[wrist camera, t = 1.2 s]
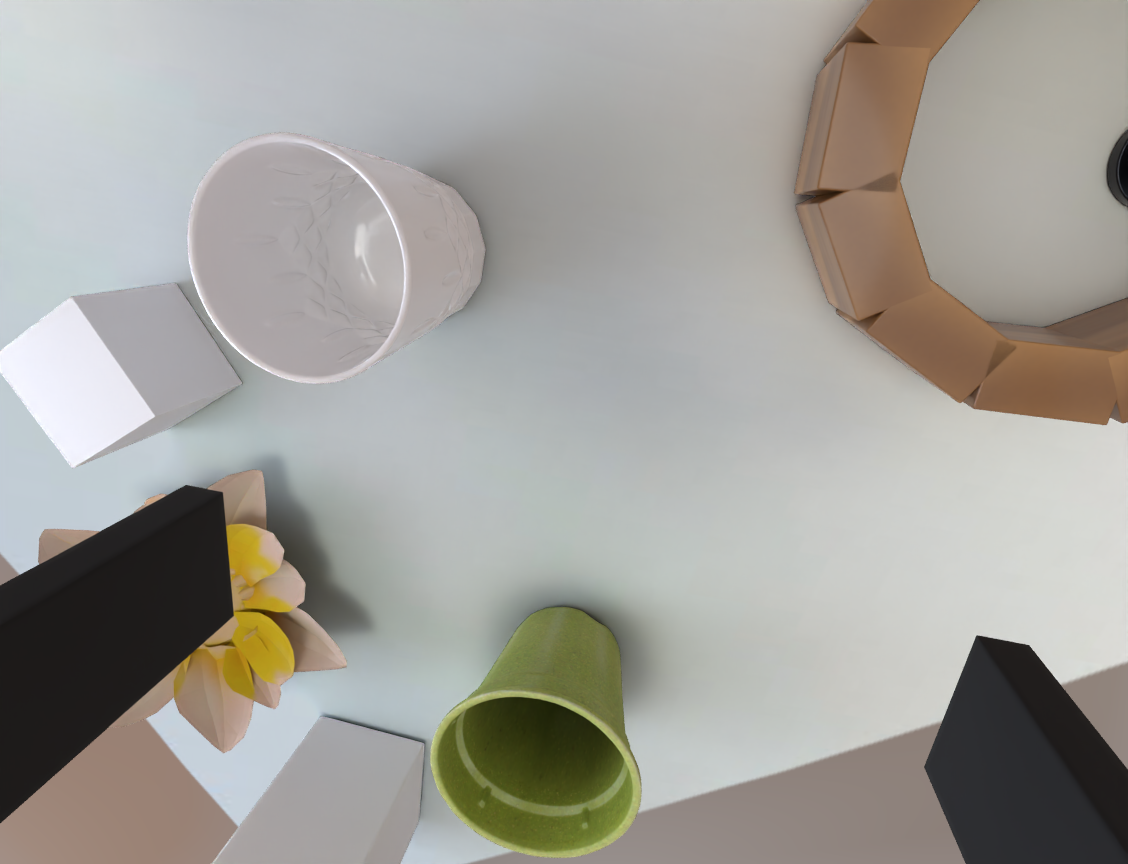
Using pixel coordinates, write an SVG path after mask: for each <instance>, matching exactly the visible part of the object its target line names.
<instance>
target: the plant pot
mask: <svg viewBox="0 0 1128 864" xmlns="http://www.w3.org/2000/svg"><path fill="white" fill-rule="evenodd" d="M430 762H431V769H432V773H433V777H434V779H435V782H436V786H437V788H438V790H439V792H440V794H441V796H442V797H443V799H444V800H445V801H446V803H447V804H448V806H449V807H450V809H451V810H452V812H453V813H454V814H455V815H456V816H457V817H458V818H459V819H460V820H462V821H463V822H464V823H465V824H466V825H467V826H469V827H470V828H471V829H473V830H474V831H475V832H476V833H478V834H479V835H481V836H483V837H484V838H486V839H488V840H490V841H492V842H494V843H495V844H497V845H500V846H502V847H504V848H507V849H510V850H513V851H516V852H520V853H524V854H528V855H532V856H537V857H551V858H569V857H577V856H582V855H586V854H589V853H591V852H594V851H597V850H600V849H602V848H604V847H606V846H608V845H610V844H611V843H613V842H614V841H615V840H617V839H618V838H619V837H620V836H622V835H623V834H624V833H625V832H626V831H627V830H628V828H629V827H630V825H631V824H632V823H633V821H634V819H635V818H636V816H637V813H638V810H639V807H640V802H641V777H640V772H639V768H638V765H637V763H636V760H635V758H634V755H633V753H632V751H631V750H630V745H629V742H628V739H627V736H626V734H625V724H624V712H623V699H622V679H621V658H620V650H619V647H618V644H617V642H616V640H615V638H614V636H613V634H612V633H611V632H610V630H609V629H608V628H607V627H606V626H604V625H602V624H600V623H598V622H597V621H595V620H594V619H592V618H591V617H590V616H588V615H587V614H586V613H585V612H583V611H581V610H578V609H574V608H568V607H551V608H546V609H542V610H539V611H537V612H535V613H533V614H531V615H530V616H529V617H528V618H527V619H526V620H525V621H524V622H523V623H522V624H521V625H520V626H519V627H518V628H517V630H516V631H515V633H514V634H513V636H512V637H511V639H510V640H509V642H508V644H507V645H506V647H505V648H504V650H503V651H502V653H501V655H500V656H499V658H498V659H497V661H496V662H495V664H494V665H493V667H492V669H491V670H490V672H489V673H488V675H487V676H486V678H485V679H484V681H483V682H482V684H481V685H480V687H479V688H478V689H477V690H475V691H474V692H473V693H472V694H471V695H470V696H469V697H468V698H467V699H465V700H464V701H462V702H460V703H459V704H458V705H457V706H455V707H454V708H453V709H452V710H451V711H450V712H449V713H448V714H447V715H446V716H445V718H444V719H443V720H442V722H441V723H440V725H439V727H438V728H437V730H436V732H435V735H434V738H433V741H432V745H431V753H430Z"/></svg>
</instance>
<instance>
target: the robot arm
mask: <svg viewBox="0 0 1128 864" xmlns="http://www.w3.org/2000/svg"><path fill="white" fill-rule="evenodd" d="M233 616H234V610H233V598H232V587H231V576H230V565H229V554H228V542H227V531H226V520H225V509H224V498H223V492H220V491H214V490H209V489H204V488H199V487H193V486H188V485H185V486H183V487H182V488H180V489H178V490H176V491H174V492H172V493H171V494H169V495H167V496H165V497H163V498H161V499H159V500H158V501H156V502H154V503H152V504H150V505H148V506H146V507H145V508H143V509H141V510H139V511H137V512H135V513H134V514H132V515H130V516H128V517H126V518H124V519H122V520H121V521H119V522H117V523H115V524H113V525H111V526H110V527H108V528H106V529H104V530H102V531H100V532H98V533H97V534H95V535H93V536H91V537H89V538H87V539H85V540H84V541H82V542H80V543H78V544H76V545H74V546H73V547H71V548H69V549H67V550H65V551H63V552H61V553H60V554H58V555H56V556H54V557H52V558H50V559H48V560H47V561H45V562H43V563H41V564H39V565H37V566H36V567H34V568H32V569H30V570H28V571H26V572H24V573H23V574H21V575H19V576H17V577H15V578H13V579H11V580H10V581H8V582H6V583H4V584H2V585H0V823H1V822H2V821H3V820H5V819H6V818H7V817H8V816H9V815H10V814H11V813H12V812H14V811H15V810H16V809H17V808H18V807H19V806H20V805H22V804H23V803H24V802H25V801H26V800H27V799H28V798H29V797H30V796H32V795H33V794H34V793H35V792H36V791H37V790H38V789H40V788H41V787H42V786H43V785H44V784H45V783H46V782H47V781H48V780H50V779H51V778H52V777H53V776H54V775H55V774H56V773H58V772H59V771H60V770H61V769H62V768H63V767H64V766H65V765H67V764H68V763H69V762H70V761H71V760H72V759H73V758H74V757H75V756H77V755H78V754H79V753H80V752H81V751H82V750H84V749H85V748H86V747H87V746H88V745H89V744H90V743H91V742H92V741H94V740H95V739H96V738H97V737H98V736H99V735H100V734H102V733H103V732H104V731H105V730H106V729H107V728H108V727H109V726H111V725H112V724H113V723H114V722H115V721H116V720H117V719H118V718H120V717H121V716H122V715H123V714H124V713H125V712H126V711H127V710H129V709H130V708H131V707H132V706H133V705H134V704H135V703H137V702H138V701H139V700H140V699H141V698H142V697H143V696H144V695H146V694H147V693H148V692H149V691H150V690H151V689H152V688H153V687H155V686H156V685H157V684H158V683H159V682H160V681H161V680H162V679H164V678H165V677H166V676H167V675H168V674H169V673H170V672H171V671H173V670H174V669H175V668H176V667H177V666H178V665H179V664H180V663H182V662H183V661H184V660H185V659H186V658H187V657H188V656H189V655H191V654H192V653H193V652H194V651H195V650H196V649H197V648H199V647H200V646H201V645H202V644H203V643H204V642H205V641H206V640H208V639H209V638H210V637H211V636H212V635H213V634H214V633H215V632H217V631H218V630H219V629H220V628H221V627H222V626H223V625H224V624H226V623H227V622H228V621H229V620H230V619H231V618H232V617H233ZM924 768H925V770H926V772H927V775H928V777H929V779H930V782H931V784H932V786H933V788H934V791H935V793H936V795H937V798H938V800H939V802H940V805H941V807H942V809H943V812H944V814H945V816H946V819H947V821H948V823H949V826H950V828H951V830H952V833H953V835H954V837H955V840H956V842H957V844H958V846H959V849H960V851H961V854H962V856H963V858H964V861H965V863H966V864H1128V769H1127V768H1126V767H1125V766H1124V764H1123V763H1122V762H1121V760H1120V759H1119V758H1118V757H1117V755H1116V754H1115V753H1114V752H1113V751H1112V749H1111V748H1110V747H1109V745H1108V744H1107V743H1106V742H1105V740H1104V739H1103V738H1102V737H1101V735H1100V734H1099V733H1098V731H1097V730H1096V729H1095V728H1094V727H1093V725H1092V724H1091V723H1090V721H1089V720H1088V719H1087V718H1086V716H1085V715H1084V714H1083V713H1082V711H1081V710H1080V709H1079V708H1078V706H1077V705H1076V704H1075V703H1074V701H1073V700H1072V699H1071V698H1070V696H1069V695H1068V694H1067V693H1066V691H1065V690H1064V689H1063V688H1062V686H1061V685H1060V684H1059V682H1058V681H1057V680H1056V679H1055V677H1054V676H1053V675H1052V674H1051V672H1050V671H1049V670H1048V669H1047V667H1046V666H1045V665H1044V663H1043V662H1042V661H1041V660H1040V658H1039V657H1038V656H1037V655H1036V653H1035V652H1034V651H1033V650H1032V648H1031V647H1030V646H1029V645H1025V644H1020V643H1014V642H1009V641H1004V640H999V639H993V638H988V637H983V636H978V635H977V636H976V638H975V641H974V643H973V646H972V648H971V651H970V653H969V656H968V658H967V661H966V663H965V666H964V668H963V671H962V673H961V676H960V678H959V681H958V683H957V686H956V688H955V691H954V693H953V696H952V698H951V701H950V704H949V706H948V709H947V711H946V714H945V716H944V719H943V721H942V724H941V726H940V729H939V731H938V734H937V736H936V739H935V741H934V744H933V746H932V749H931V751H930V754H929V756H928V759H927V761H926V764H925V766H924Z"/></svg>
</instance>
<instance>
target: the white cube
mask: <svg viewBox="0 0 1128 864" xmlns="http://www.w3.org/2000/svg"><path fill="white" fill-rule="evenodd" d="M0 372H1V374H2V375H3V376H4V378H5V379H6V380H7V382H8V383H9V384H10V386H11V387H12V388H13V390H14V391H15V392H16V394H17V395H18V396H19V398H20V399H21V400H22V402H23V403H24V404H25V406H26V407H27V408H28V410H29V411H30V412H31V414H32V415H33V416H34V418H35V419H36V420H37V422H38V423H39V424H40V426H41V427H42V428H43V430H44V431H45V432H46V434H47V435H48V436H49V438H50V439H51V440H52V442H53V443H54V444H55V446H56V447H57V448H58V450H59V451H60V452H61V454H62V455H63V456H64V458H65V459H66V460H67V462H68V463H69V464H70V466H71V467H72V468H75V467H77V466H80V465H82V464H85V463H87V462H90V461H92V460H95V459H97V458H99V457H102V456H104V455H107V454H109V453H112V452H114V451H116V450H119V449H121V448H124V447H126V446H129V445H131V444H133V443H136V442H138V441H141V440H143V439H146V438H148V437H151V436H153V435H155V434H158V433H160V432H163V431H165V430H168V429H169V428H171V427H173V426H174V425H176V424H178V423H179V422H181V421H182V420H184V419H186V418H187V417H189V416H191V415H192V414H194V413H196V412H197V411H199V410H200V409H202V408H204V407H205V406H207V405H209V404H210V403H212V402H213V401H215V400H217V399H218V398H220V397H222V396H223V395H225V394H226V393H228V392H230V391H231V390H233V389H235V388H236V387H238V386H240V385H241V384H243V383H242V382H241V380H240V379H239V377H238V376H237V374H236V373H235V371H234V370H233V368H232V367H231V365H230V364H229V362H228V361H227V359H226V358H225V356H224V355H223V353H222V351H221V350H220V348H219V347H218V345H217V344H216V342H215V341H214V339H213V338H212V336H211V335H210V333H209V332H208V330H207V329H206V327H205V326H204V324H203V323H202V321H201V320H200V318H199V317H198V315H197V314H196V312H195V311H194V309H193V308H192V306H191V305H190V303H189V302H188V300H187V299H186V297H185V296H184V294H183V293H182V291H181V290H180V288H179V287H178V285H177V284H176V283H171V284H163V285H155V286H148V287H140V288H132V289H125V290H117V291H109V292H102V293H94V294H86V295H79V296H71V297H70V298H68V299H67V300H66V301H64V302H63V303H62V304H60V305H59V306H58V307H57V308H55V309H54V310H53V311H51V312H50V313H49V314H47V315H46V316H45V317H43V318H42V319H41V320H40V321H38V322H37V323H36V324H34V325H33V326H32V327H30V328H29V329H28V330H26V331H25V332H24V333H23V334H21V335H20V336H19V337H17V338H16V339H15V340H13V341H12V342H11V343H9V344H8V345H7V346H6V347H4V348H3V349H2V350H0Z"/></svg>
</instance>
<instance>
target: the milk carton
mask: <svg viewBox="0 0 1128 864" xmlns="http://www.w3.org/2000/svg"><path fill="white" fill-rule="evenodd" d="M423 762H424V743H422V742H418V741H414V740H411V739H407V738H403V737H399V736H396V735H392V734H388V733H384V732H381V731H377V730H373V729H369V728H365V727H362V726H358V725H354V724H350V723H346V722H343V721H339V720H335V719H331V718H327V717H323V716H320V717H319V719H318V720H317V721H316V723H315V724H314V725H313V727H312V728H311V729H310V731H309V732H308V733H307V735H306V736H305V737H304V739H303V740H302V742H301V743H300V744H299V746H298V747H297V748H296V750H295V751H294V752H293V754H292V755H291V757H290V758H289V759H288V761H287V762H286V763H285V765H284V766H283V767H282V769H281V770H280V771H279V773H278V774H277V776H276V777H275V778H274V780H273V781H272V782H271V784H270V785H269V786H268V788H267V789H266V790H265V792H264V793H263V795H262V796H261V797H260V799H259V800H258V801H257V803H256V804H255V805H254V807H253V808H252V810H251V811H250V812H249V814H248V815H247V816H246V818H245V819H244V820H243V822H242V823H241V824H240V826H239V827H238V829H237V830H236V831H235V833H234V834H233V835H232V837H231V838H230V840H229V841H228V842H227V844H226V845H225V846H224V848H223V849H222V850H221V852H220V853H219V854H218V856H217V857H216V859H215V860H214V861H213V863H212V864H400V863H401V861H402V859H403V856H404V854H405V852H406V850H407V847H408V845H409V843H410V841H411V838H412V836H413V834H414V832H415V829H416V827H417V825H418V822H419V814H420V801H421V788H422V775H423Z"/></svg>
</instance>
